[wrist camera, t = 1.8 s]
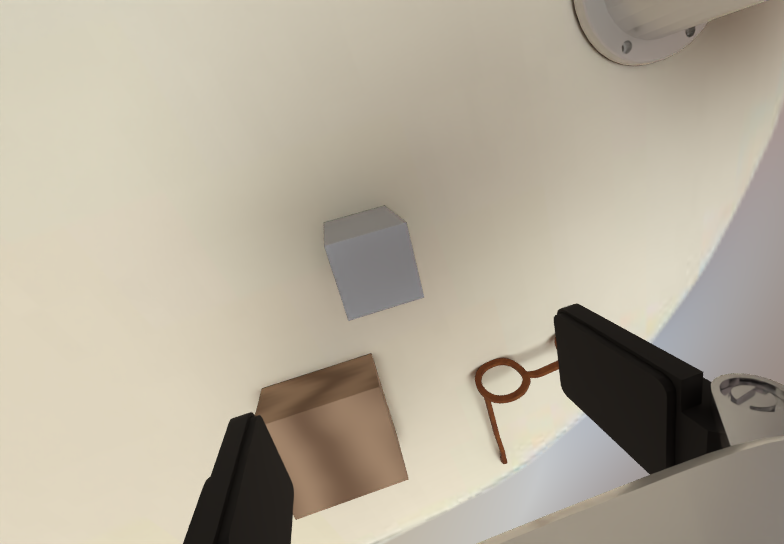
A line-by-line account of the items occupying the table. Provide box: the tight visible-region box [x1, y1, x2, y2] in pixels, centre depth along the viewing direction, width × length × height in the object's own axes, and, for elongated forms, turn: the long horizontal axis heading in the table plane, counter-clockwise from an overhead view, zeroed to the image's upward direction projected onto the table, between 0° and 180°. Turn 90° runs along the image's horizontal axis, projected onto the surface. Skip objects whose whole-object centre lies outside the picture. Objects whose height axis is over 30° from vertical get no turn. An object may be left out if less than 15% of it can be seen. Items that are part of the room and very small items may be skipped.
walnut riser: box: [255, 354, 408, 520], centre depth 31 cm, size 10×10×5 cm
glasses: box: [475, 337, 559, 464], centre depth 36 cm, size 13×13×5 cm
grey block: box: [324, 205, 424, 321], centre depth 26 cm, size 5×5×8 cm
